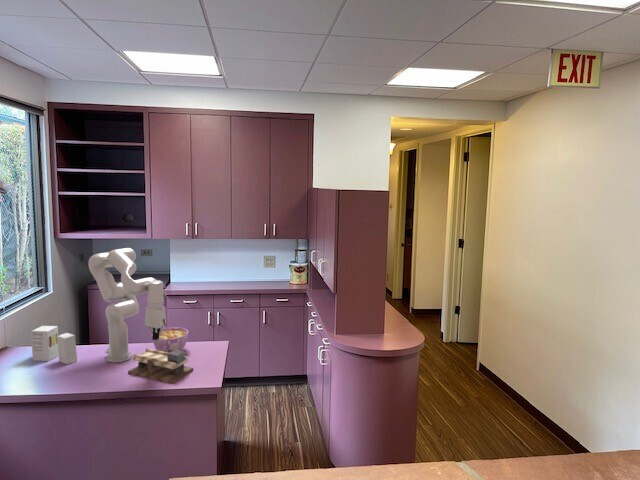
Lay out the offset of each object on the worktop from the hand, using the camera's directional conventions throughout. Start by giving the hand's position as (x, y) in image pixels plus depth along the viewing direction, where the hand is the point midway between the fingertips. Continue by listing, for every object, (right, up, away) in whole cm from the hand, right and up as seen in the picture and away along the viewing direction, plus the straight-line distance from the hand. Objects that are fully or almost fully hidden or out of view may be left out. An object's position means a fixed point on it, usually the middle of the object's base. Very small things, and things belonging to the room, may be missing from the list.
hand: (155, 339), depth 220 cm
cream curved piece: (+2, -10, 0) cm, 11 cm away
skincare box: (-52, -15, +12) cm, 56 cm away
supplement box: (-67, -14, +16) cm, 70 cm away
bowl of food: (-2, -14, +27) cm, 31 cm away
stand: (+2, -17, +1) cm, 18 cm away
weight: (+12, -10, -3) cm, 16 cm away
